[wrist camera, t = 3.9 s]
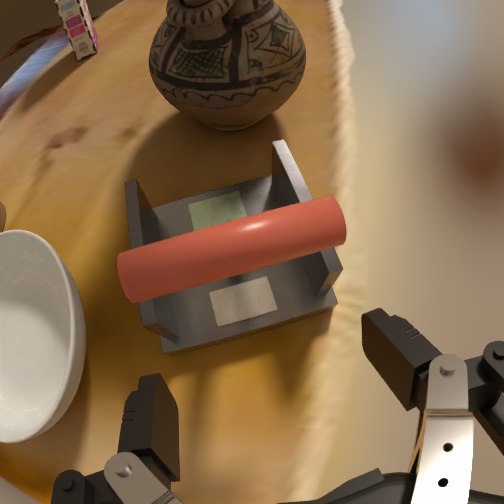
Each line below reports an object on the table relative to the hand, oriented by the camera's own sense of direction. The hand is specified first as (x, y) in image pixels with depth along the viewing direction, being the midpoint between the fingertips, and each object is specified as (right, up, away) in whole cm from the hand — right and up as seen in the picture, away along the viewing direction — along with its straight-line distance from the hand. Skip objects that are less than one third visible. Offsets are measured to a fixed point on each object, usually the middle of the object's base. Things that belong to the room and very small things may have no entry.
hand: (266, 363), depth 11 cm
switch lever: (-3, +5, +14) cm, 15 cm away
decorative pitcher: (-3, +23, +27) cm, 36 cm away
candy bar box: (-37, +50, +40) cm, 74 cm away
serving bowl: (-24, -6, +15) cm, 29 cm away
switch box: (-2, +3, +18) cm, 18 cm away
